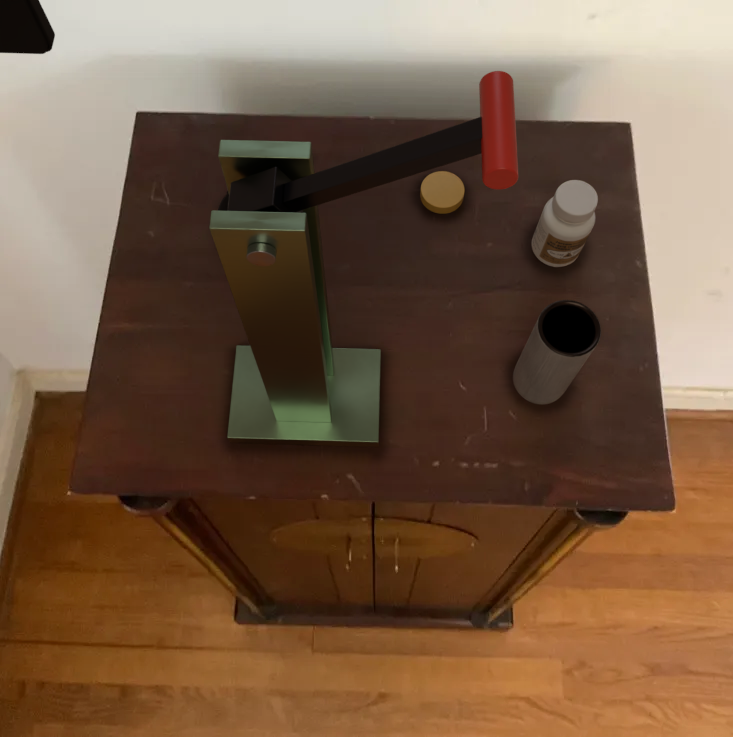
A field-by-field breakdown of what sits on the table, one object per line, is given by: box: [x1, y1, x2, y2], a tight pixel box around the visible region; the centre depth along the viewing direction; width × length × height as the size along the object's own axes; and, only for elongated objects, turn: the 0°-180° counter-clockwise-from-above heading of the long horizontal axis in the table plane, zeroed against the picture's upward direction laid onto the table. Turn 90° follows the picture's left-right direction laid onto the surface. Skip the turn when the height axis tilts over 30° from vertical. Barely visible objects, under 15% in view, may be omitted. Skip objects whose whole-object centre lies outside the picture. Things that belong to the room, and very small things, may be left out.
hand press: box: [208, 139, 382, 448], centre depth 50 cm, size 12×8×30 cm, turn 88°
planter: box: [512, 299, 602, 405], centre depth 59 cm, size 4×4×10 cm
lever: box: [228, 70, 519, 213], centre depth 35 cm, size 14×5×2 cm, turn 88°
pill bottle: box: [531, 179, 599, 268], centre depth 65 cm, size 4×4×8 cm
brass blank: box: [419, 170, 465, 215], centre depth 71 cm, size 4×4×1 cm
